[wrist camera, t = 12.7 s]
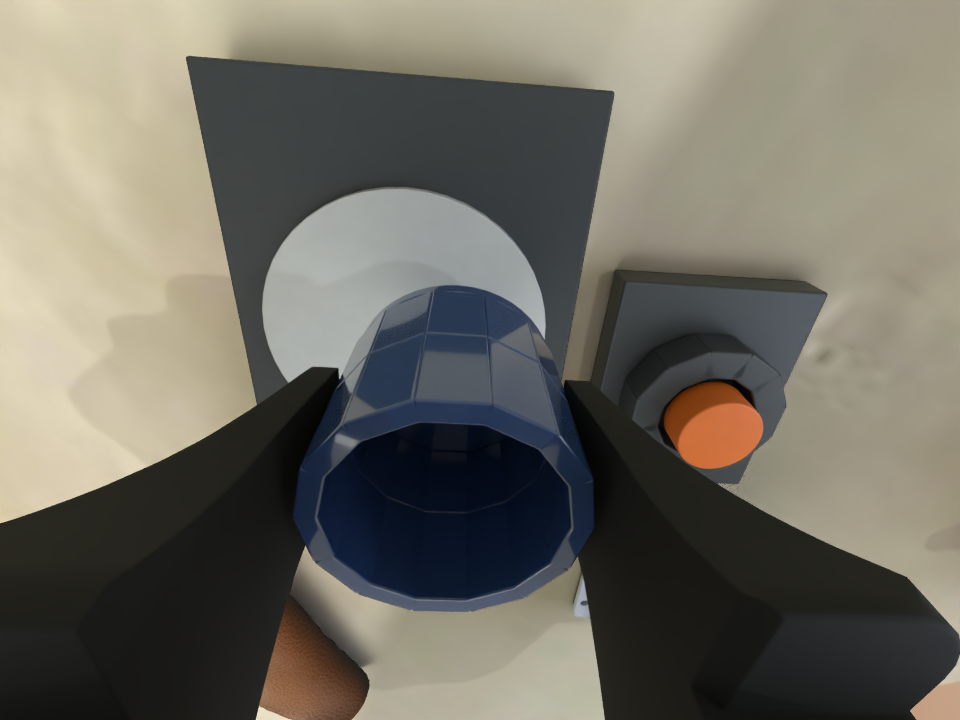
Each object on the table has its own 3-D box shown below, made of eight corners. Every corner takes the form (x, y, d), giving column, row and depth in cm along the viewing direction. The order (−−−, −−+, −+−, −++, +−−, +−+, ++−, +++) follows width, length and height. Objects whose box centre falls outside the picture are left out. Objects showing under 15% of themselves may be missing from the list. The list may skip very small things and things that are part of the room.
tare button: (727, 445, 20) (746, 471, 18) (654, 442, 20) (668, 468, 18) (754, 382, 18) (777, 405, 17) (675, 378, 18) (692, 401, 17)
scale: (533, 457, 23) (541, 501, 21) (291, 448, 23) (269, 492, 20) (594, 92, 15) (619, 90, 13) (226, 62, 15) (176, 54, 12)
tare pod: (725, 464, 24) (757, 510, 21) (572, 459, 23) (585, 504, 21) (806, 280, 19) (860, 310, 16) (614, 269, 18) (639, 297, 16)
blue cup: (538, 455, 14) (570, 616, 10) (358, 447, 14) (307, 609, 9) (567, 291, 11) (630, 410, 7) (346, 277, 11) (268, 392, 7)
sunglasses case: (84, 540, 25) (51, 635, 19) (213, 463, 27) (218, 529, 21) (267, 697, 33) (281, 794, 28) (354, 629, 35) (382, 706, 30)
